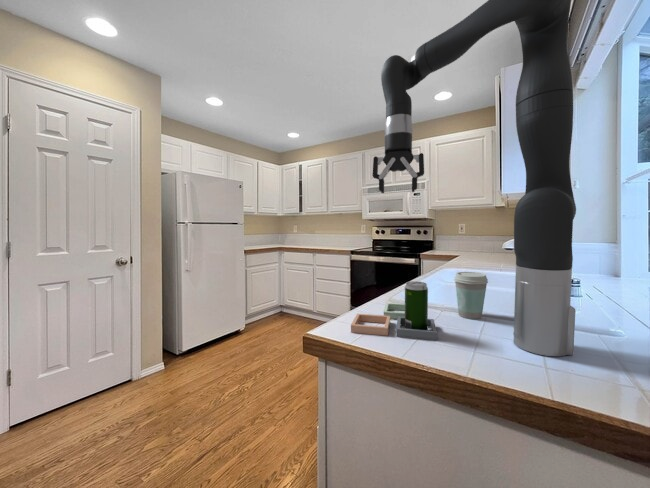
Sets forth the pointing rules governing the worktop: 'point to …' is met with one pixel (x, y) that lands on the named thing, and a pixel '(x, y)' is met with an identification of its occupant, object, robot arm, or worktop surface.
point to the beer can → (416, 305)
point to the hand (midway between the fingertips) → (397, 192)
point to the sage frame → (394, 307)
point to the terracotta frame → (371, 329)
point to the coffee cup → (470, 293)
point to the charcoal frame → (416, 333)
